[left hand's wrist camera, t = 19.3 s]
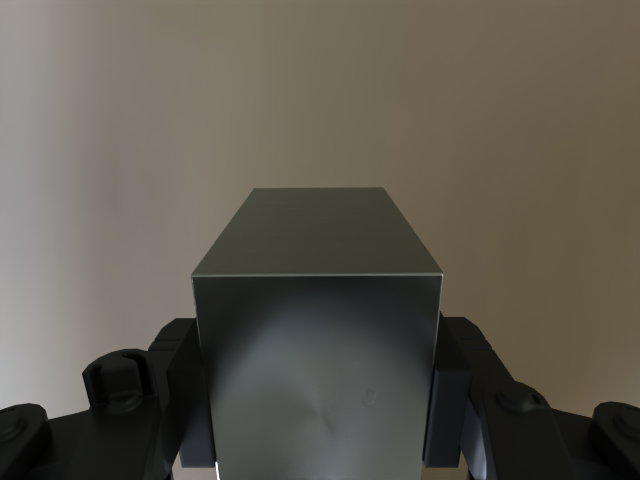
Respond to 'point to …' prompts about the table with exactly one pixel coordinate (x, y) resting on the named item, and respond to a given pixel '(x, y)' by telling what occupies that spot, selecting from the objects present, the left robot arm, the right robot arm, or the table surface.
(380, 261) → the brick
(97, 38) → the table surface
